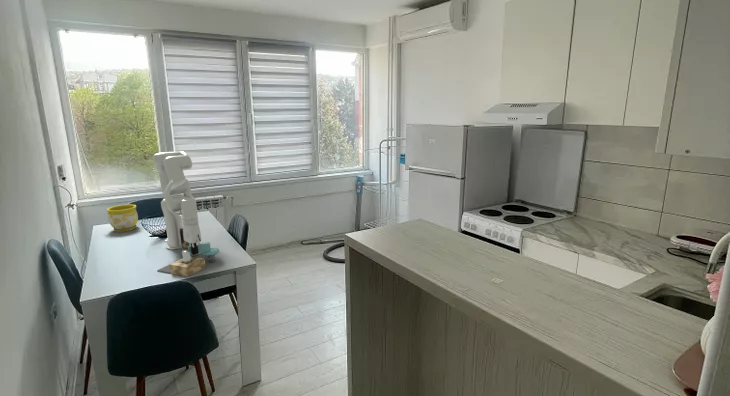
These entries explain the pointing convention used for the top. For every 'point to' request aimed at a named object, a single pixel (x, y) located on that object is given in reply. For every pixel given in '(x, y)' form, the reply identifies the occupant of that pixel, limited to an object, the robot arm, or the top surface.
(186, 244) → the coffee box
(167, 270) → the place mat
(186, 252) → the hook peg
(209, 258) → the teal toy sofa
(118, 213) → the flowerpot
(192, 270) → the block
